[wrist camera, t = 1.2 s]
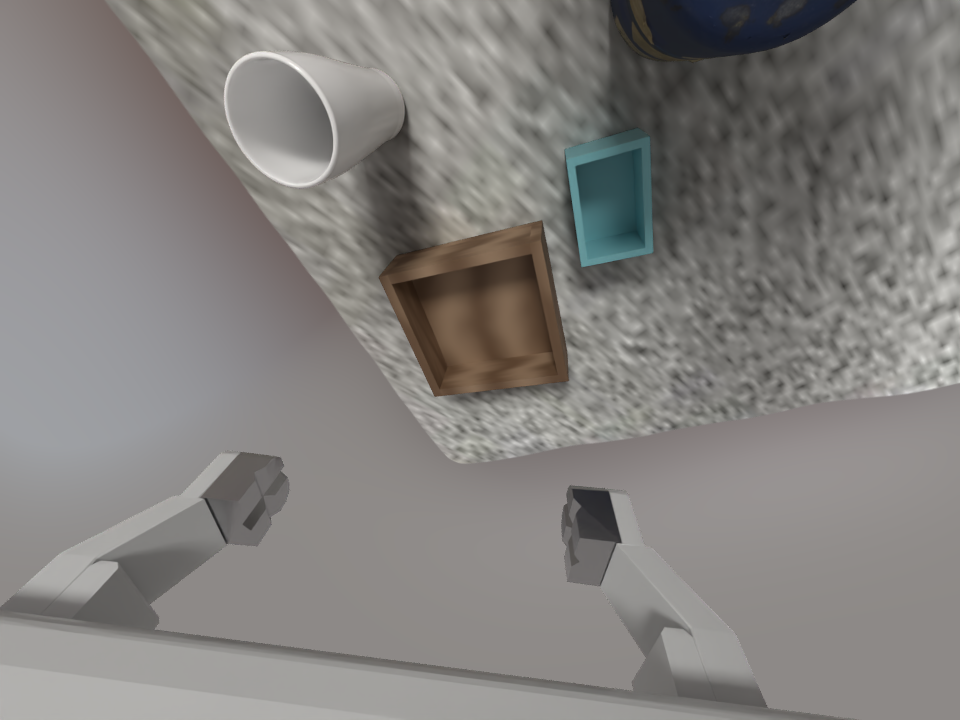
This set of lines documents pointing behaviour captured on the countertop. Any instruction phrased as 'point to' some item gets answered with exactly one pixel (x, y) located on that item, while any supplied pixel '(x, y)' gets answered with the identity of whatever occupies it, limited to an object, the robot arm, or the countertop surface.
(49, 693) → the robot arm
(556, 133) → the countertop surface
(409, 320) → the walnut crate
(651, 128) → the countertop surface
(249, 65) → the white cup
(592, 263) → the teal crate
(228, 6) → the countertop surface
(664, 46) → the canister
